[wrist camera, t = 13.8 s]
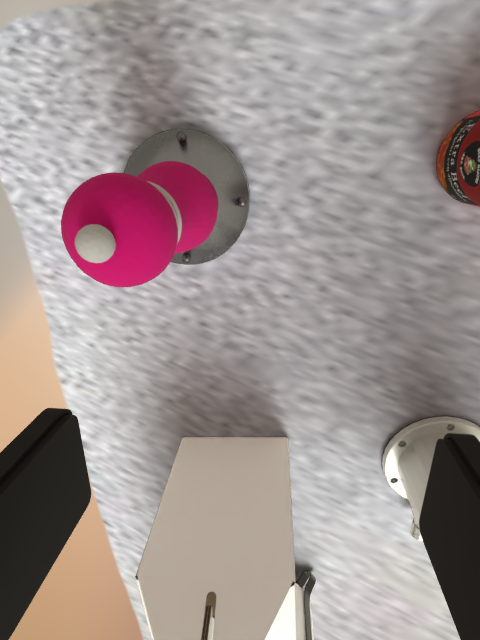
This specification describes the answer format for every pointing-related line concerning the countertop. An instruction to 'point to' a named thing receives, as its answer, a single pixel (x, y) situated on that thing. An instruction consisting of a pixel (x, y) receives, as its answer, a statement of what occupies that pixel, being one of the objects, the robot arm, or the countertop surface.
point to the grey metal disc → (220, 172)
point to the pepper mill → (138, 221)
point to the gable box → (223, 544)
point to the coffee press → (304, 606)
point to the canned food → (461, 161)
